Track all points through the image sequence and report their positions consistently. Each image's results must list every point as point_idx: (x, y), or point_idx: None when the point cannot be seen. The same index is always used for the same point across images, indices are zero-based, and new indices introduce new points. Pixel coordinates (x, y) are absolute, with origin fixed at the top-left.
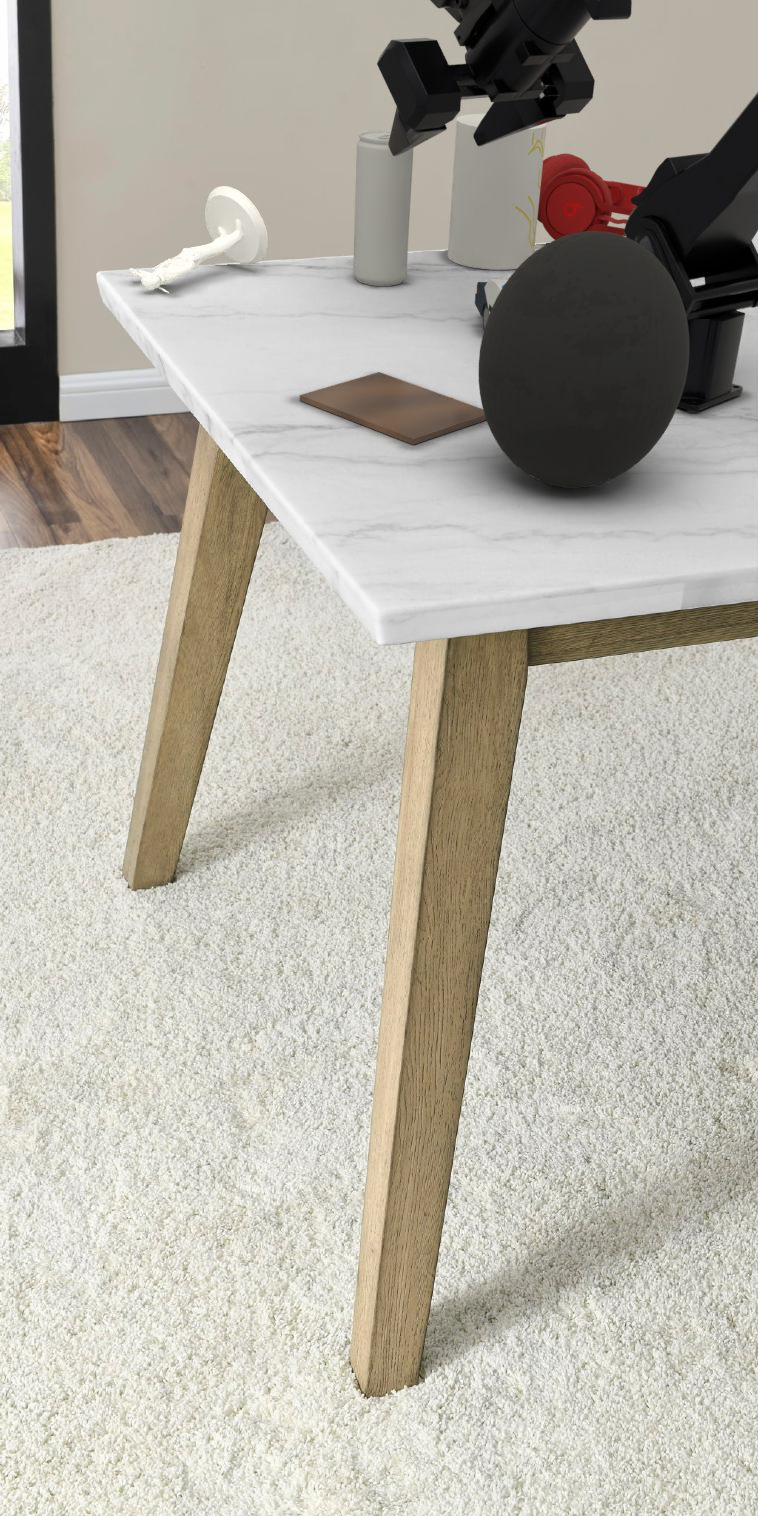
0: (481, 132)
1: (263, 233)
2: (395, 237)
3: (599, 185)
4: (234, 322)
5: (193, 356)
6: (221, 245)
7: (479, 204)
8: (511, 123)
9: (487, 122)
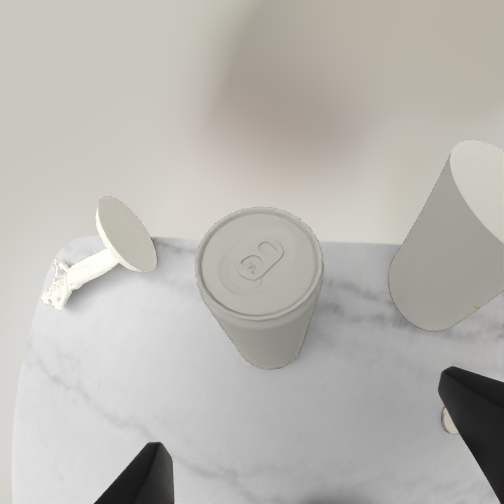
0: (456, 398)
1: (133, 268)
2: (269, 361)
3: None
4: (66, 408)
5: (21, 456)
6: (98, 270)
7: (434, 288)
8: (498, 477)
9: (476, 412)
